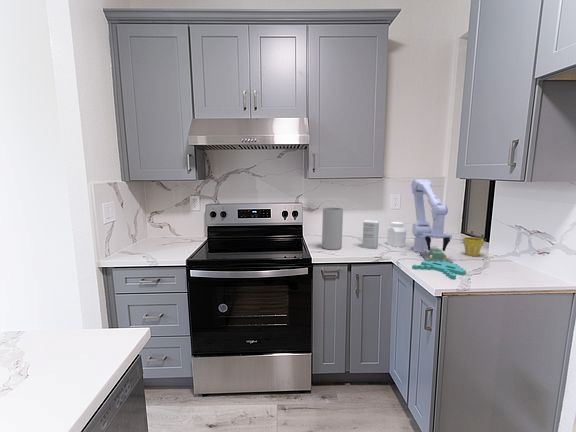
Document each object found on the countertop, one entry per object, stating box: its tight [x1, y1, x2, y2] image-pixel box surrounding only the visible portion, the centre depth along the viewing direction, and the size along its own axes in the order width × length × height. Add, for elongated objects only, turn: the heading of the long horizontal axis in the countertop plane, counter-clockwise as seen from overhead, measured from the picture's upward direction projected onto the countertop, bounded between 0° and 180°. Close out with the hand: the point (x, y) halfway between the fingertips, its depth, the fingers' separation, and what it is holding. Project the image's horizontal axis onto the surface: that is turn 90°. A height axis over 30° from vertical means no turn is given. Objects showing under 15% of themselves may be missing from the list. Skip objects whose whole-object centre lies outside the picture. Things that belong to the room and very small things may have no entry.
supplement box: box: [361, 219, 380, 250], centre depth 197 cm, size 10×9×17 cm
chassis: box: [419, 248, 454, 263], centre depth 172 cm, size 18×13×4 cm
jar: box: [386, 221, 407, 248], centre depth 202 cm, size 12×10×15 cm
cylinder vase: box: [321, 207, 344, 251], centre depth 193 cm, size 12×12×25 cm
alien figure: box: [411, 260, 467, 280], centre depth 152 cm, size 20×2×20 cm
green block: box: [428, 247, 445, 260], centre depth 172 cm, size 11×5×4 cm, turn 167°
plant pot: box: [462, 236, 484, 257], centre depth 180 cm, size 10×10×10 cm
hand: (436, 250), depth 172 cm, fingers open, 7 cm apart
